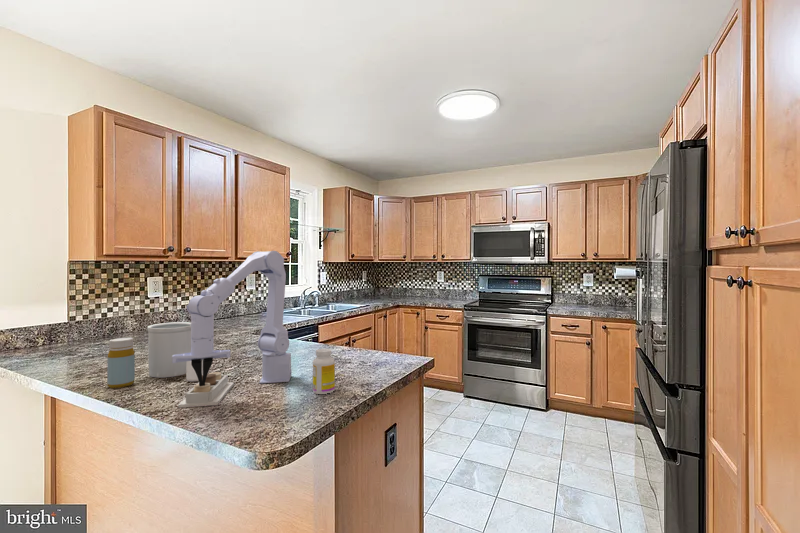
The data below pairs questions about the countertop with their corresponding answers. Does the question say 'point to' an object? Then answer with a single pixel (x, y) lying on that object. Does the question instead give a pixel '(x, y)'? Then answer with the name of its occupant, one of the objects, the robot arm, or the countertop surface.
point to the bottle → (121, 363)
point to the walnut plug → (210, 379)
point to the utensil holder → (168, 348)
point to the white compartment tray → (208, 394)
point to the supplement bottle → (323, 372)
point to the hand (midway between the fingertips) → (202, 385)
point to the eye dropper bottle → (191, 372)
